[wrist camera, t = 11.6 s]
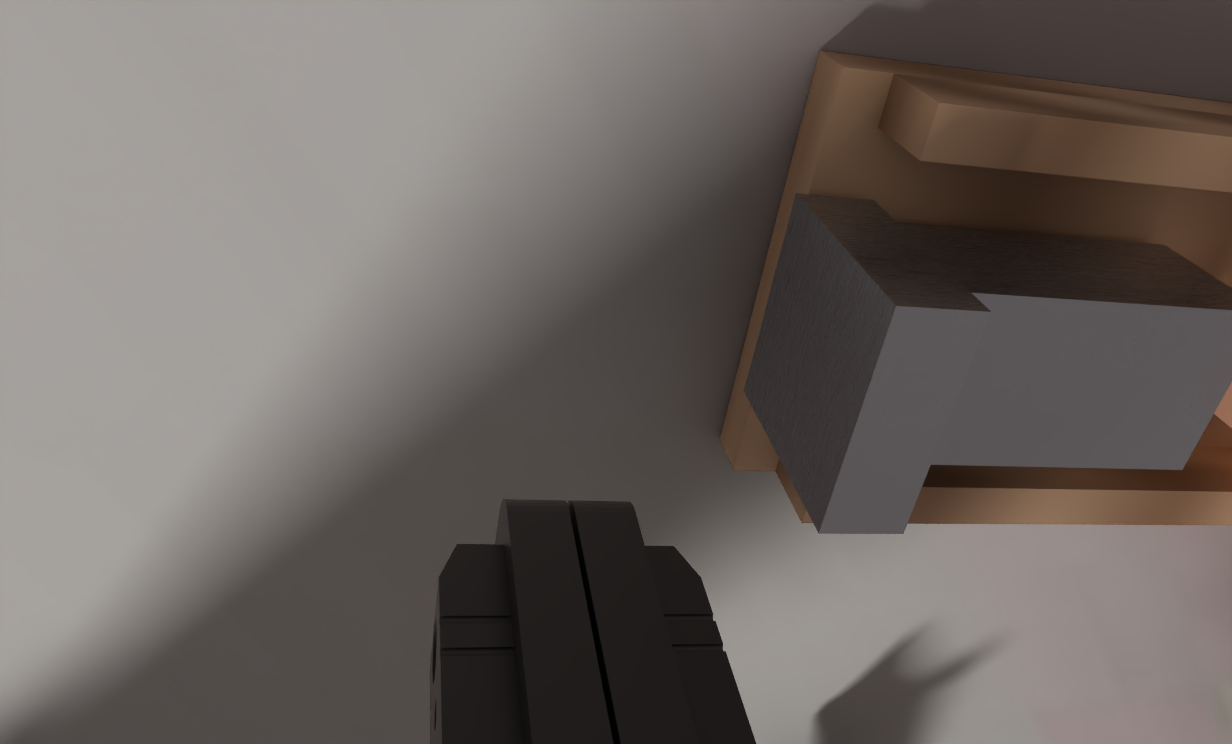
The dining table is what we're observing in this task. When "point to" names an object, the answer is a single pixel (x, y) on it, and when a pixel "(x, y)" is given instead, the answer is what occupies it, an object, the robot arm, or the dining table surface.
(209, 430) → the dining table surface
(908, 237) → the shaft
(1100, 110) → the wooden tray
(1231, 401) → the block
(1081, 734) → the dining table surface
